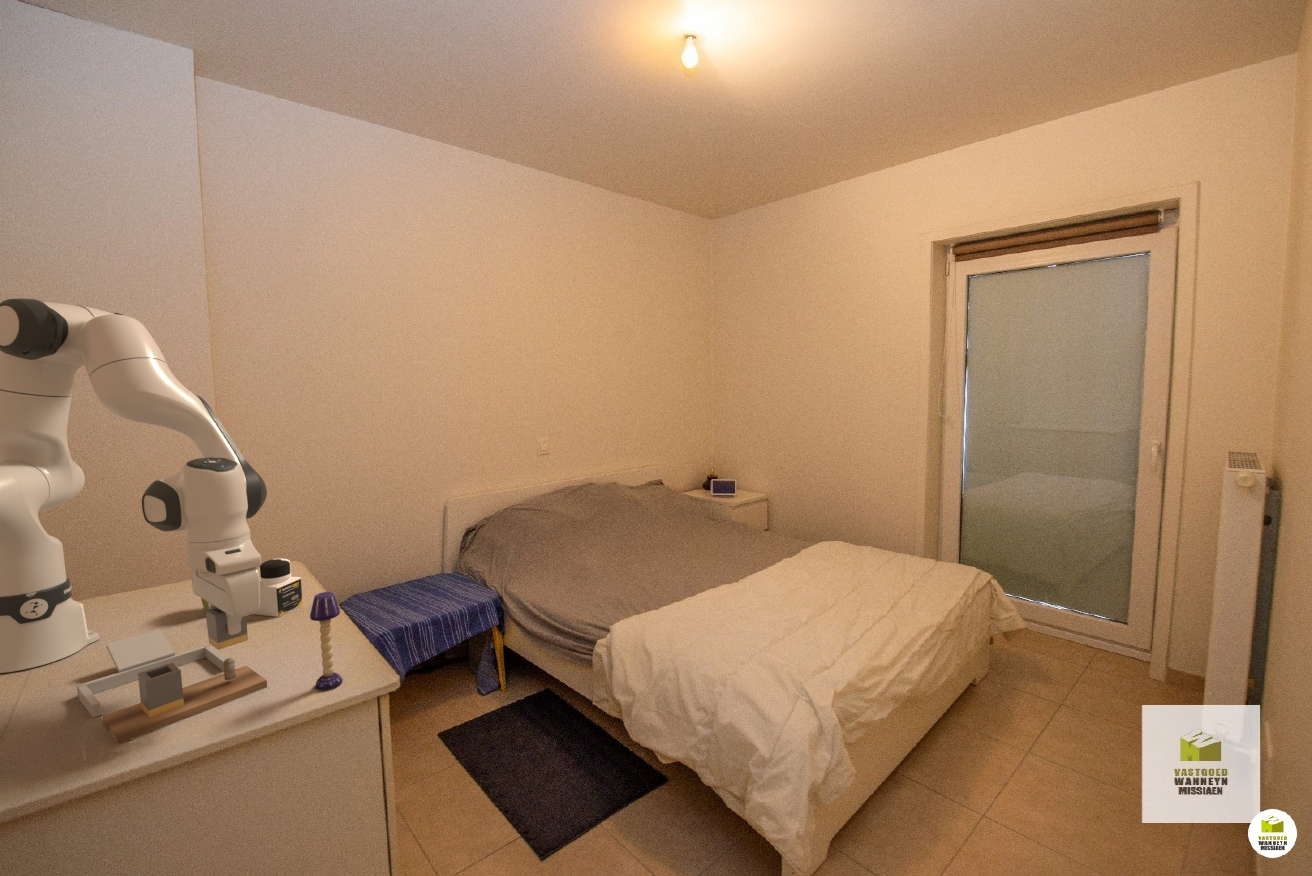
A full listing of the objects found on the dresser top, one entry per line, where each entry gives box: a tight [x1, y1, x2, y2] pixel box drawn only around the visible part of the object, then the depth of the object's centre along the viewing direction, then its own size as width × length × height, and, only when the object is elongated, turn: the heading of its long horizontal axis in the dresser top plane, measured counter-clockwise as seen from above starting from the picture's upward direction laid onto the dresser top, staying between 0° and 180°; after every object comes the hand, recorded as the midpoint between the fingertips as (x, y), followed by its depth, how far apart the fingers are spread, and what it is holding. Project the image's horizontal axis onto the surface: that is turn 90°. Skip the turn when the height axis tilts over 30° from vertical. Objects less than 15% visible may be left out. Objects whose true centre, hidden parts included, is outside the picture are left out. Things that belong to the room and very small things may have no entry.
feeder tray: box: [76, 628, 228, 718], centre depth 107 cm, size 18×19×5 cm
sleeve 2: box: [205, 607, 249, 651], centre depth 102 cm, size 4×4×6 cm
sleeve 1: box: [137, 663, 184, 717], centre depth 95 cm, size 4×4×6 cm
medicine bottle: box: [253, 558, 303, 618], centre depth 137 cm, size 7×7×12 cm
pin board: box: [101, 657, 268, 745], centre depth 98 cm, size 9×20×6 cm, turn 144°
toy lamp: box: [309, 591, 343, 692], centre depth 104 cm, size 5×5×17 cm
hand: (227, 628), depth 102 cm, fingers closed on sleeve 2, 4 cm apart
